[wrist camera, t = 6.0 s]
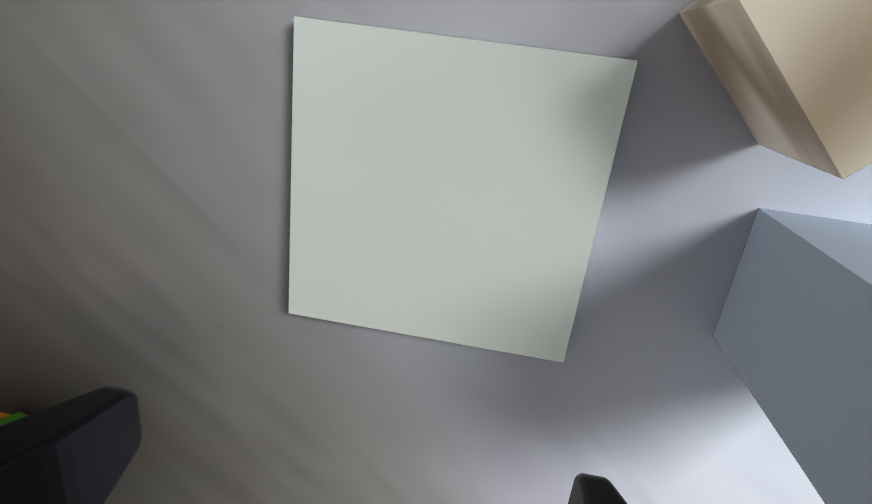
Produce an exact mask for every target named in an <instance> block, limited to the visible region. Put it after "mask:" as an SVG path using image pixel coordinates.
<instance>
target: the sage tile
mask: <svg viewBox="0 0 872 504" xmlns="http://www.w3.org/2000/svg"><path fill="white" fill-rule="evenodd" d="M637 62H638V61H637V60H629V59H621V58H613V57H606V56H598V55H590V54H582V53H575V52H567V51H559V50H551V49H544V48H536V47H528V46H520V45H513V44H505V43H497V42H489V41H482V40H474V39H466V38H458V37H451V36H443V35H435V34H427V33H420V32H412V31H404V30H396V29H389V28H381V27H373V26H365V25H357V24H350V23H342V22H334V21H326V20H319V19H311V18H303V17H295V16H294V44H293V99H292V154H291V209H290V264H289V313H290V314H295V315H301V316H306V317H312V318H317V319H323V320H328V321H334V322H340V323H345V324H351V325H356V326H362V327H367V328H373V329H378V330H384V331H390V332H395V333H401V334H406V335H412V336H417V337H423V338H428V339H434V340H440V341H445V342H451V343H456V344H462V345H467V346H473V347H478V348H484V349H490V350H495V351H501V352H506V353H512V354H517V355H523V356H528V357H534V358H540V359H545V360H551V361H556V362H562V363H564V359H565V355H566V351H567V347H568V343H569V339H570V335H571V331H572V327H573V323H574V318H575V314H576V310H577V306H578V302H579V298H580V294H581V290H582V286H583V282H584V278H585V274H586V270H587V266H588V262H589V257H590V253H591V249H592V245H593V241H594V237H595V233H596V229H597V225H598V221H599V217H600V213H601V209H602V205H603V201H604V197H605V192H606V188H607V184H608V180H609V176H610V172H611V168H612V164H613V160H614V156H615V152H616V148H617V144H618V140H619V136H620V131H621V127H622V123H623V119H624V115H625V111H626V107H627V103H628V99H629V95H630V91H631V87H632V83H633V79H634V75H635V70H636V66H637Z"/></svg>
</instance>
